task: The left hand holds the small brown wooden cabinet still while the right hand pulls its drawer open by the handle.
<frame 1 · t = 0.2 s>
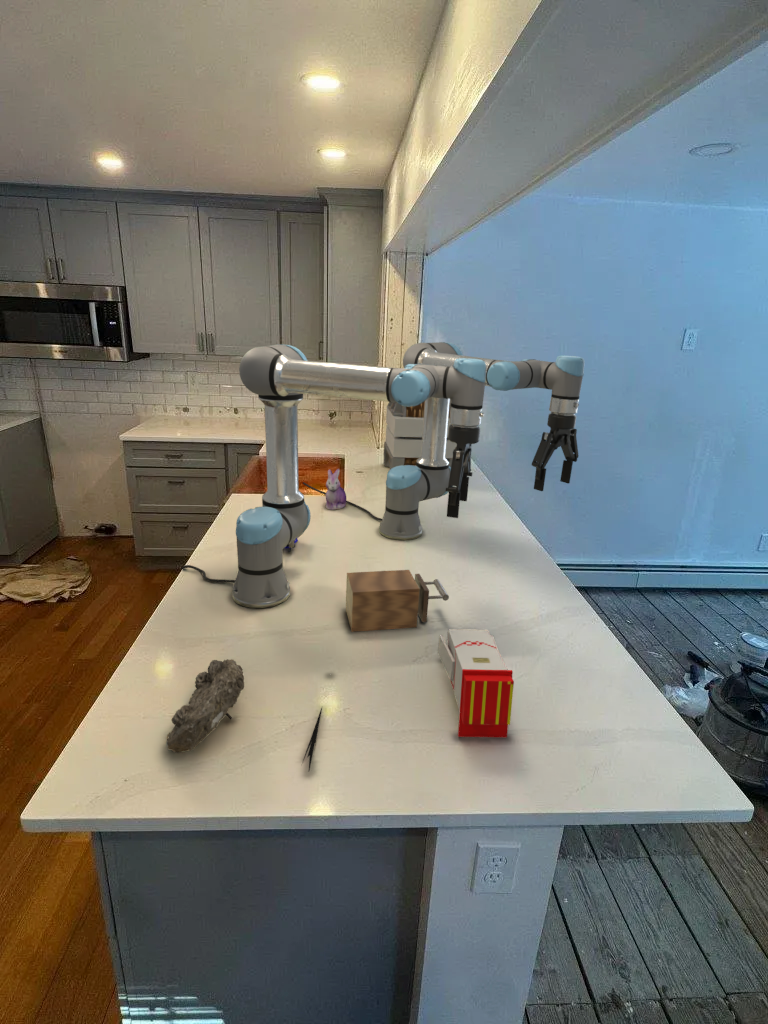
left hand: (457, 508, 144), 28 cm above the counter, tool pointing down, fingers open, 13 cm apart
right hand: (551, 486, 165), 28 cm above the counter, tool pointing down, fingers open, 13 cm apart
figurine: (335, 506, 224), on the counter
feather: (319, 719, 109), on the counter
cabinet: (380, 618, 145), on the counter
fossil: (212, 717, 108), on the counter
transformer: (419, 473, 275), on the counter
toy: (469, 691, 119), on the counter
figurine character: (287, 546, 186), on the counter
drawer: (404, 598, 144), point 5 cm above the counter, slide at 1.5 cm
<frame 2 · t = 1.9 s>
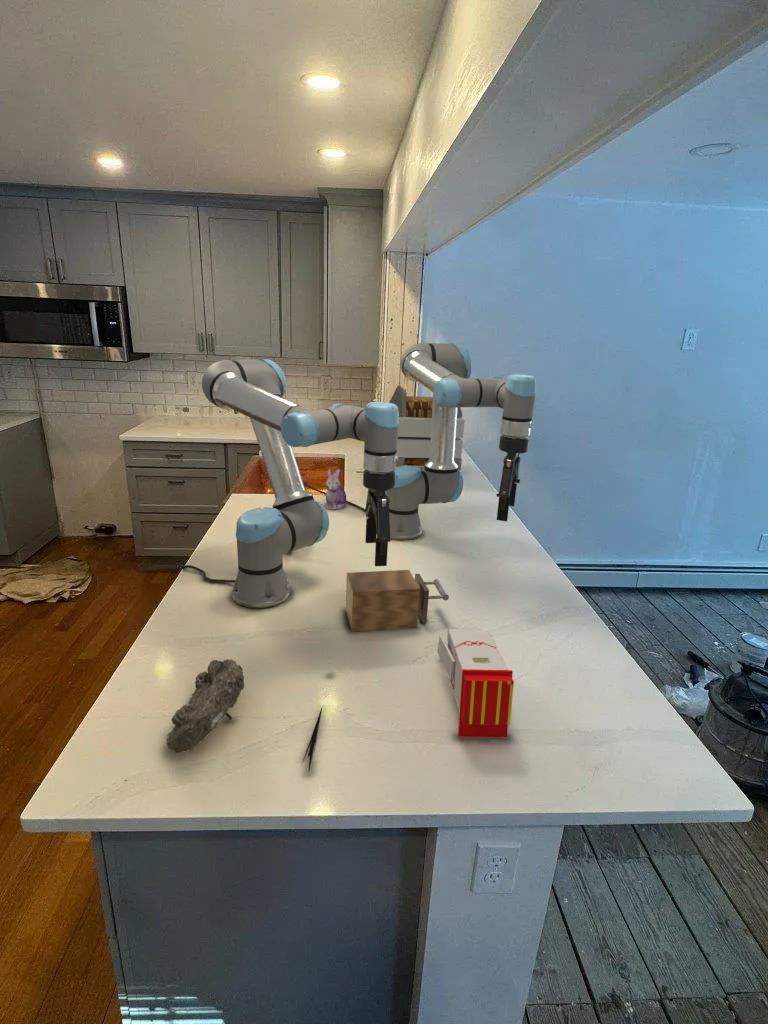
left hand: (375, 553, 139), 18 cm above the counter, tool pointing down, fingers open, 13 cm apart
right hand: (505, 512, 155), 24 cm above the counter, tool pointing down, fingers open, 13 cm apart
nothing on the counter moved.
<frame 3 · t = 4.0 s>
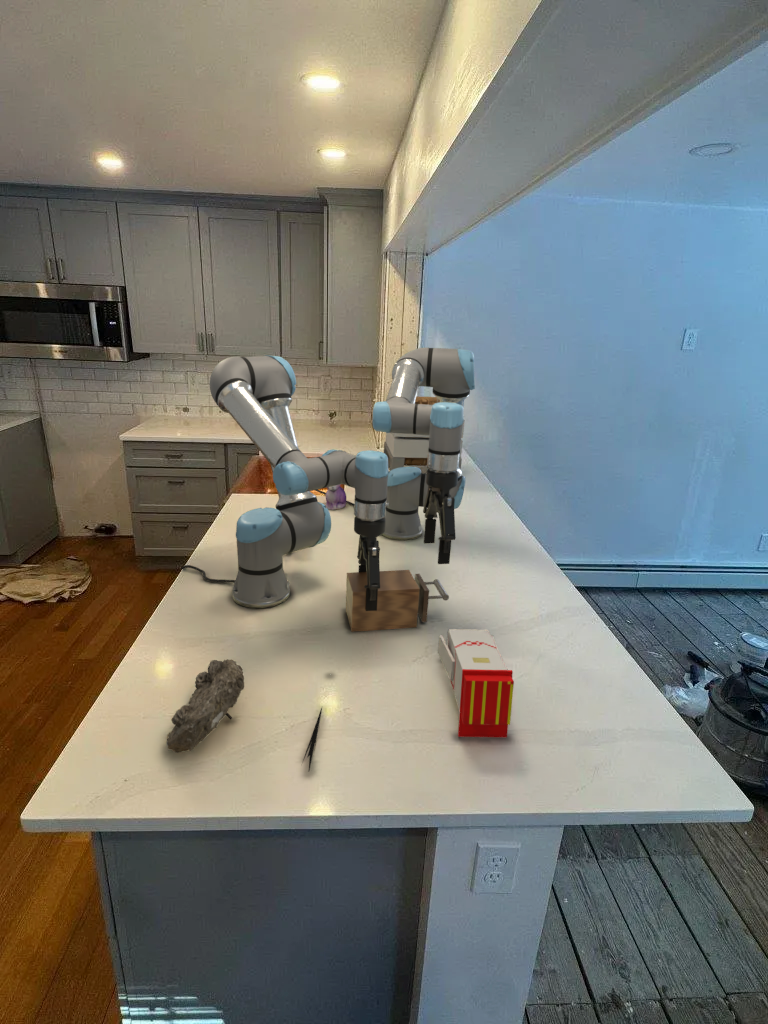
left hand: (367, 598, 142), 6 cm above the counter, tool pointing down, fingers closed on cabinet, 11 cm apart
right hand: (435, 552, 142), 18 cm above the counter, tool pointing down, fingers open, 12 cm apart
cabinet: (380, 618, 145), on the counter, touching left hand
everything else where it was.
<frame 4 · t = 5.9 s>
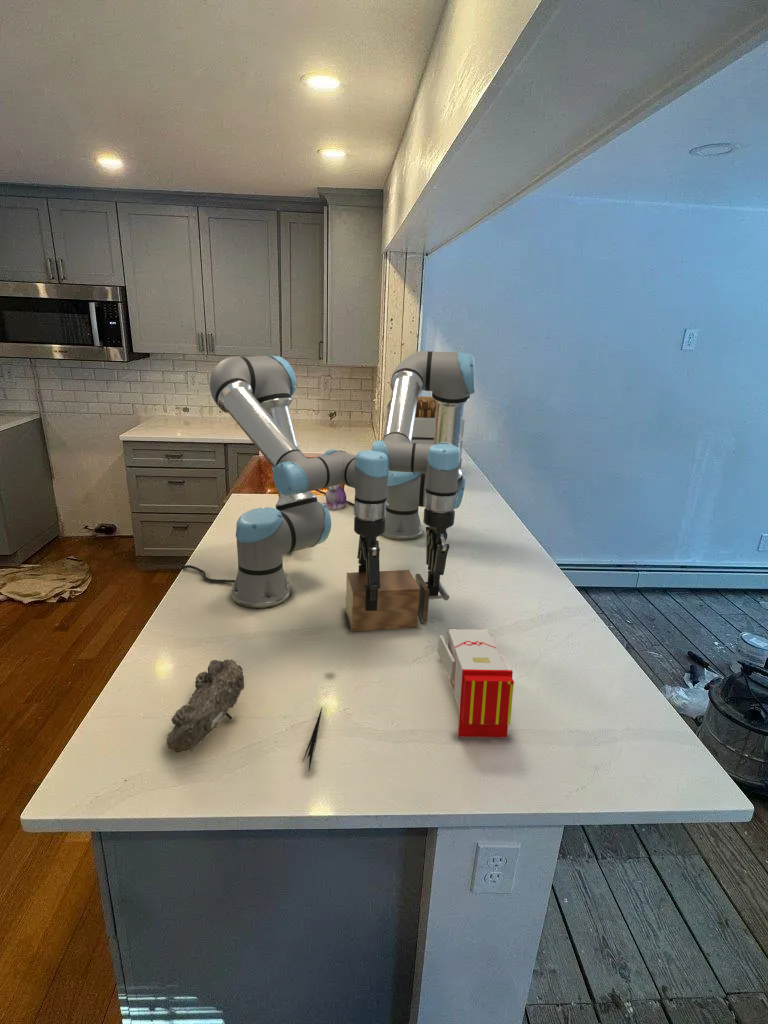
left hand: (367, 598, 142), 6 cm above the counter, tool pointing down, fingers closed on cabinet, 11 cm apart
right hand: (432, 595, 146), 6 cm above the counter, tool pointing down, fingers closed
cabinet: (380, 618, 145), on the counter, touching left hand
drawer: (404, 598, 144), point 5 cm above the counter, slide at 1.6 cm, touching right hand
everything else where it was.
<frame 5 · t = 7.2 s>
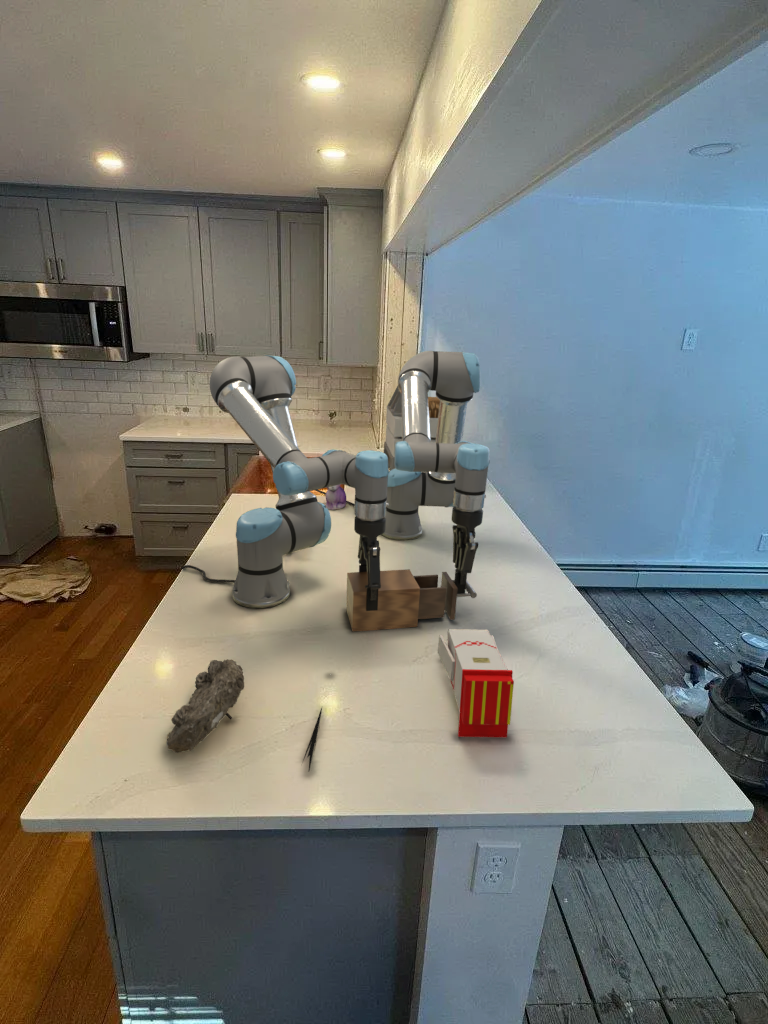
left hand: (367, 598, 142), 6 cm above the counter, tool pointing down, fingers closed on cabinet, 11 cm apart
right hand: (459, 592, 147), 6 cm above the counter, tool pointing down, fingers closed
cabinet: (381, 618, 145), on the counter, touching left hand
drawer: (432, 596, 146), point 5 cm above the counter, slide at 8.7 cm, touching right hand
everything else where it was.
when the left hand's fingers open (6 cm above the counter, at t = 8.8 s): cabinet stays where it is, on the counter.
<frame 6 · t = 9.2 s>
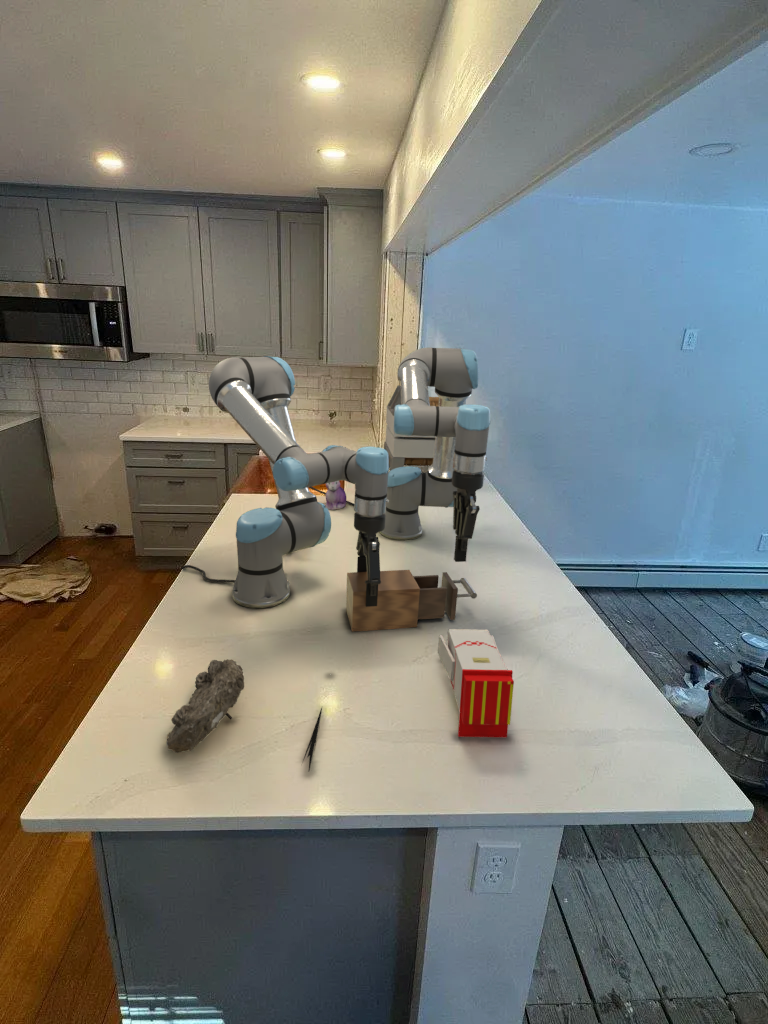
left hand: (366, 592, 142), 8 cm above the counter, tool pointing down, fingers open, 13 cm apart
right hand: (459, 560, 144), 15 cm above the counter, tool pointing down, fingers closed
cabinet: (380, 618, 145), on the counter
drawer: (432, 596, 146), point 5 cm above the counter, slide at 8.9 cm
everything else where it was.
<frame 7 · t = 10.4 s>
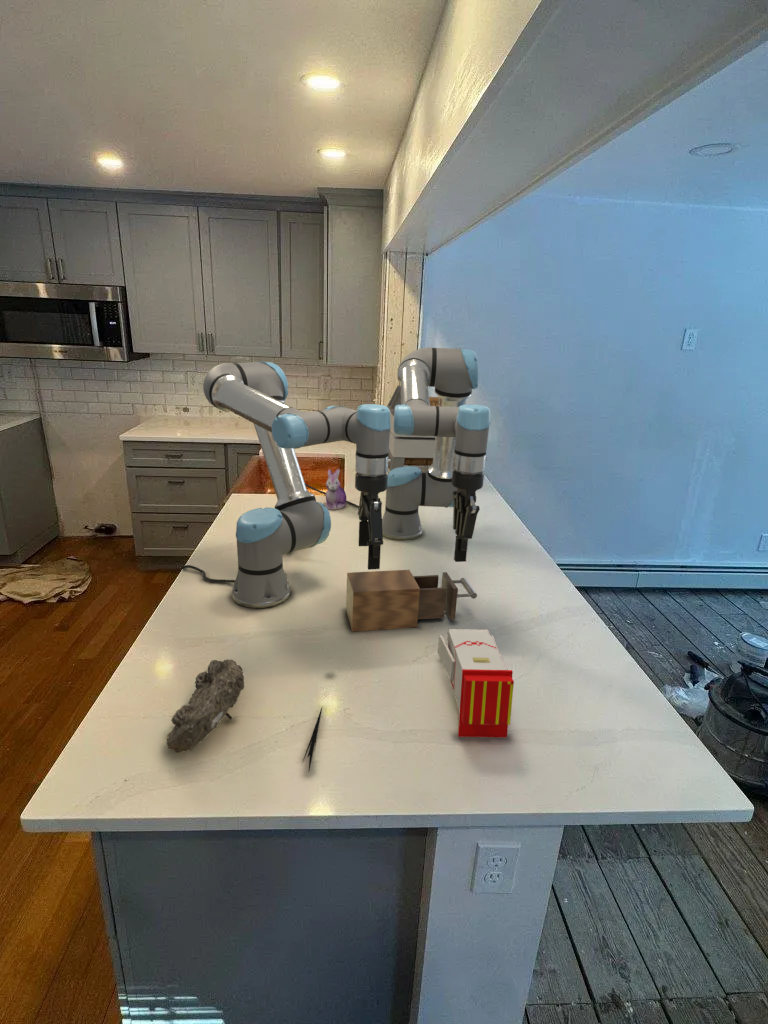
left hand: (368, 556, 138), 17 cm above the counter, tool pointing down, fingers open, 13 cm apart
right hand: (459, 560, 144), 15 cm above the counter, tool pointing down, fingers closed
nothing on the counter moved.
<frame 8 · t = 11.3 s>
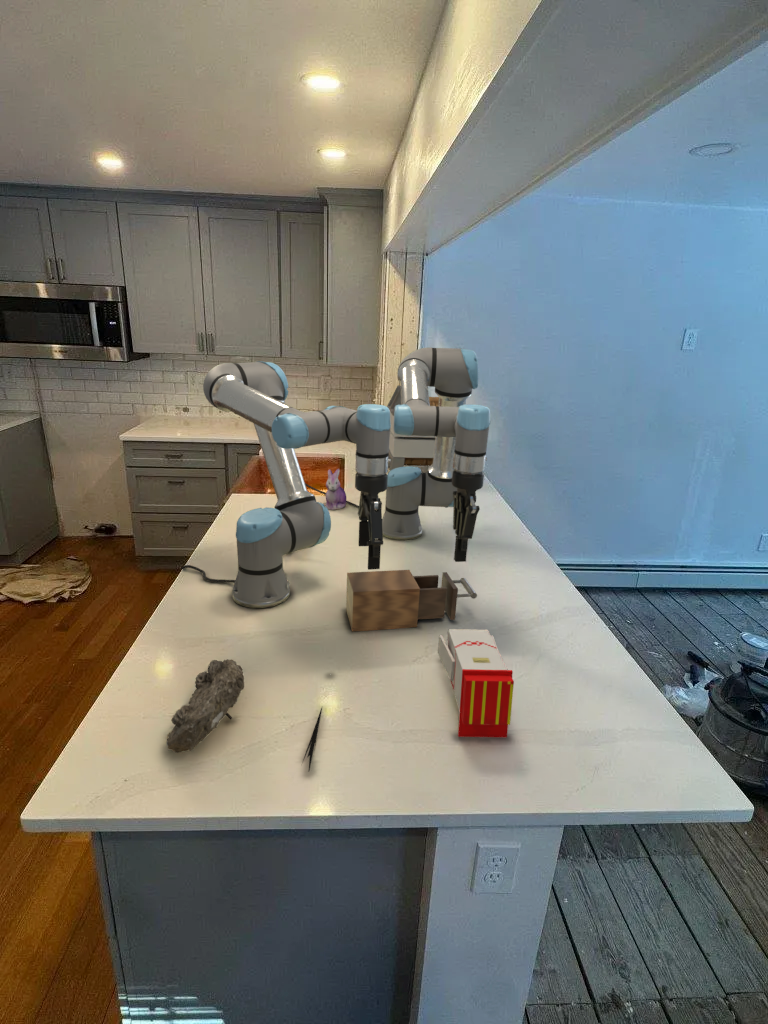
left hand: (368, 556, 138), 17 cm above the counter, tool pointing down, fingers open, 13 cm apart
right hand: (459, 560, 144), 15 cm above the counter, tool pointing down, fingers closed
nothing on the counter moved.
at the end: drawer slide at 8.9 cm; cabinet tilted 0°; cabinet never tilted more than 1° during the clip; cabinet moved 0.1 cm from its start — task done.
